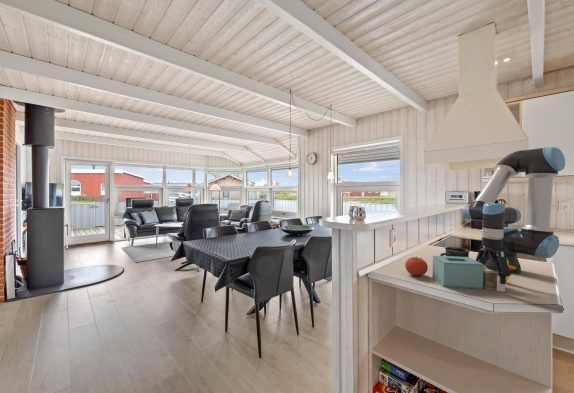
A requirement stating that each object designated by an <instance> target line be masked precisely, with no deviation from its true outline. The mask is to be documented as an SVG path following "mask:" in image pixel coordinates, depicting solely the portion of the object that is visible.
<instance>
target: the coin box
mask: <svg viewBox="0 0 574 393" xmlns="http://www.w3.org/2000/svg"><path fill="white" fill-rule="evenodd" d="M431 277H432V279H433V280H435V281H436V282H437V283H438V284H440V286H442V287H443V288H459V289H460V288H462V289H477V290H478V289H479V290H483V289H484V287H483V264H482V263H480V262H478V261H476V259H474V258H472V257H470V256H469V257H454V256H446V255H444V256H440V255H433V256H432V276H431Z"/></svg>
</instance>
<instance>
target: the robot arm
mask: <svg viewBox="0 0 574 393" xmlns="http://www.w3.org/2000/svg"><path fill="white" fill-rule="evenodd" d="M565 166H566V159H565V155H564V153H563V151H562V150H561V149H560V148H559V147H557V146H556V147H554V146H550V147H541V148H539V147H538V148H531V149H522V150H516V151H514V152H511V153H509V154H507V155H506V156H504V157H503V158H502V159H501V160H500V161H499V162H497V164H496V165H495V166H494V168H493V170H492V171H493V173H492V174H491V176H490V178H489V179H488V180H487V182H486V183H485V185H484V186H483V188H482V189H481V191H480V192H479V194H478V196H476V198H475V199H474V201H473V202H472V204H468V205H464V206H463V207H462V209H461V215H462V217H463V218H464V219H466V220H469V221H477V222H478V221H479V222H482V225H481V226H482V227H481V229H482V230H481V235H482V237H481V244H480V246H479V249H478V253H477V255H476V257H475V260H476V261H478V262H480V263H482V264H483V271H487V270H486V269H488V270H490V271H497V272H498V273H499V274H498V275H497V289H496V291H497V292H506V285H507V284H506V282H507V281H506V276H509V277H511V274H521V273H522V266H521V263H520V261H519V258H518V254H521V255H525V256H531V257H535V258H542V259H549V258H552V257H553V256H554V255H556V253H557V252H558V249H559V246H560V238H559V237H558V236H557V235H556V234H554V230H553V229H552V228H551V227H550V224H551V212H552V211H551V210H552V200H553V199H552V198H553V197H552V196H553V184H554V178H555V177H557V176H559V172H561V171H563V170H564V169H565ZM519 173H525V174H524V175H525V176H526V178H527V179H528V187H527V201H526V214H525V224H524V225H523V226H522V227H520V230H519V228H518V227H514V226H513V227H509V226H508V227H506V226H505V225H511V224H512V225H513V224H515V223H518V222H519V221H521V219H522V214H521V211H520V210H518V209H519V208H516V207H512V206H505V204H504V203H495V202H496V201H497V199H498V197H499V196H500V195H501V193H502V191H503V190H504V189H505V187H506V186H507V184H508V183H509V181H510V179H512V178H514V177H515V176H516V174H519ZM506 258H507V260H508V264H507V260H506ZM508 265H511V266H514V267H516V269H514V270H513V269H509V267H508ZM506 272H507V273H506Z"/></svg>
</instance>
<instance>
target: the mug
mask: <svg viewBox="0 0 574 393" xmlns="http://www.w3.org/2000/svg"><path fill="white" fill-rule="evenodd" d="M444 250H445V252H443V253H442V252H441V253H440V254H439V256H454V257H469V258H470V256H469V254H470V250H469V249H468V248H463V247H459V246H458V247H457V246H456V247H454V246H447V247H444Z"/></svg>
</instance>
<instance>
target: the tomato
mask: <svg viewBox="0 0 574 393" xmlns="http://www.w3.org/2000/svg"><path fill="white" fill-rule="evenodd" d="M404 264H405V265H404V267H405V269H406V271H407V273H408V274H411V275H412V276H416V277H421V276H424V275H425V274H427V272H428V270H429V269H428V266H429V265H428V264H427V262H426V261H425V260H424V259H423V258H422V257H419V256H418V257H417V255H416V257H415V256H412V257H410V258H409V257H408V258H407V259H406V261H405V263H404Z"/></svg>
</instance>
